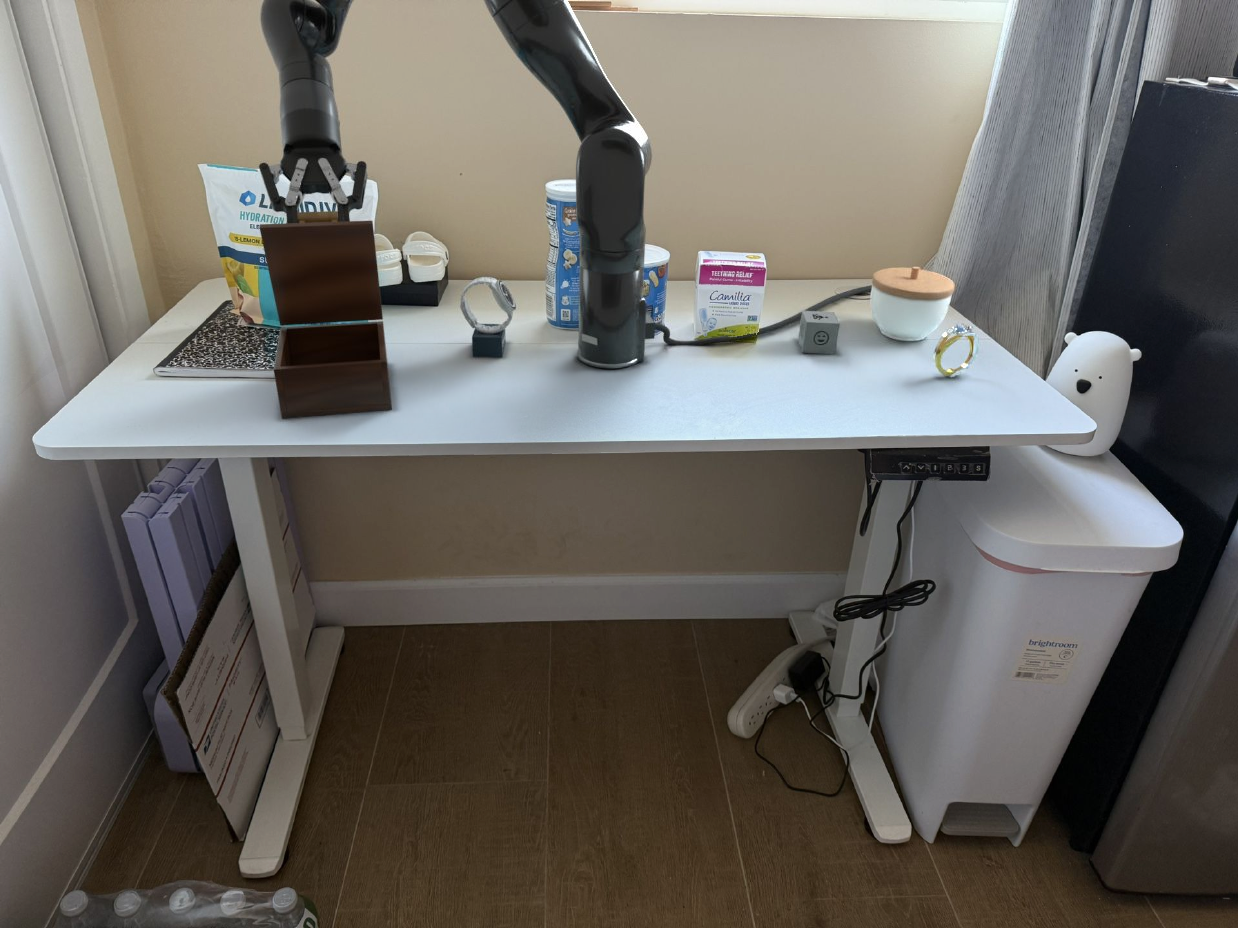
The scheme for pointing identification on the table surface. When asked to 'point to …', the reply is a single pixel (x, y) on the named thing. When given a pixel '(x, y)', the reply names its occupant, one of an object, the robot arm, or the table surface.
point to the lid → (323, 269)
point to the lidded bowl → (909, 302)
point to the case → (332, 369)
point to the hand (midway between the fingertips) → (320, 235)
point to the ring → (944, 345)
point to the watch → (489, 336)
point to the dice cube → (818, 332)
